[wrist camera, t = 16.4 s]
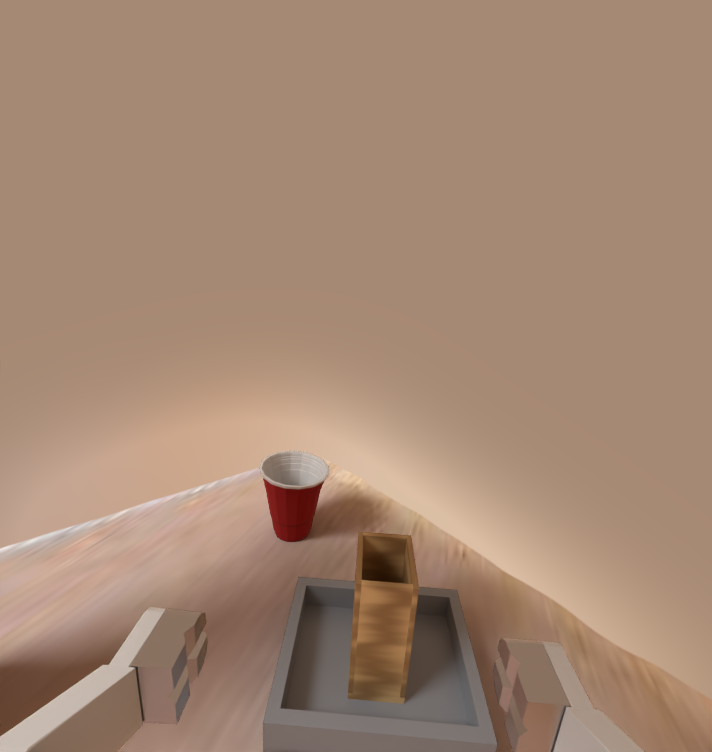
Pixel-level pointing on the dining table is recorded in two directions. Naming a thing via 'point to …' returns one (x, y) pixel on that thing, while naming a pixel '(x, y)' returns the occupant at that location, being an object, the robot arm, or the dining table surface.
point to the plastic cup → (293, 491)
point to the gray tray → (373, 718)
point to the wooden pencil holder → (382, 617)
